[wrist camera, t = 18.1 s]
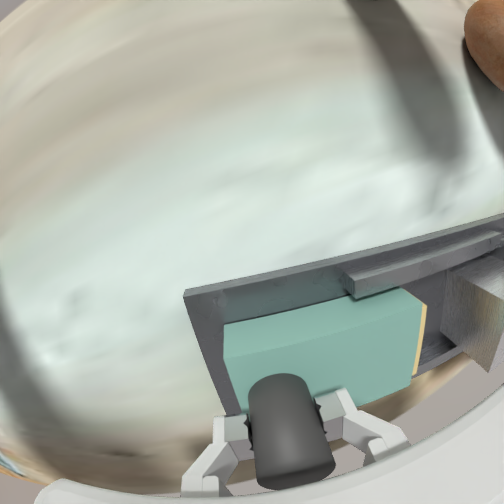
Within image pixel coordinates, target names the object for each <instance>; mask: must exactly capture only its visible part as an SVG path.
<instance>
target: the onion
mask: <svg viewBox="0 0 504 504" xmlns="http://www.w3.org/2000/svg"><path fill="white" fill-rule="evenodd" d="M464 31H465V40H466V44H467V47H468V50H469V52H470V55H471V57H472V59H474V60H475V62H476V63H477V64H478V66H479V68H480V69H481V70H482V72H483V73H484V74H485V75H486V76H487V77H488V78H489V79H490V80H491V81H492V83H493V84H494V85H495V86H497V87H498V88H499V90H501V91H503V92H504V0H479V1H477V2H475V3H474V4H473V5H472V6H471V7H470V8H469V10H468V12H467V14H466V17H465V23H464Z"/></svg>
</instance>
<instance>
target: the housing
mask: <svg viewBox="0 0 504 504" xmlns="http://www.w3.org/2000/svg"><path fill="white" fill-rule="evenodd" d="M440 331H441V332H442V333H443V334H444V335H445V336H447V337H448V338H449V339H450V340H451V341H452V342H454V343H455V344H456V345H457V346H458V347H459V348H461V349H462V350H463V351H464V352H465V353H466V354H467V355H469V356H470V357H471V358H472V359H473V360H474V361H475V362H476V363H478V364H479V365H480V366H481V367H482V368H483V369H484V370H485V371H486V372H487V373H489V372H491V371H492V370H493V369H494V368H496V367H497V366H498V365H499V364H501V363H502V362H503V361H504V261H503V260H500V259H498V258H496V257H493V256H491V255H488V254H484V255H482V256H480V257H477V258H475V259H472V260H470V261H467V262H465V263H462V264H460V265H457V266H455V267H452V268H450V269H447V276H446V288H445V298H444V306H443V313H442V320H441V326H440Z"/></svg>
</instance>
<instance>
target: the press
mask: <svg viewBox="0 0 504 504" xmlns="http://www.w3.org/2000/svg"><path fill="white" fill-rule="evenodd" d="M484 254H488V255H491V256H493V257H496V258H498V259H500V260H503V261H504V213H502V214H499V215H495V216H492V217H488V218H485V219H481V220H478V221H474V222H470V223H467V224H463V225H460V226H456V227H452V228H449V229H445V230H441V231H437V232H434V233H430V234H426V235H422V236H418V237H414V238H411V239H407V240H403V241H399V242H395V243H391V244H387V245H383V246H379V247H375V248H371V249H367V250H363V251H358V252H354V253H350V254H346V255H342V256H338V257H333V258H329V259H325V260H320V261H316V262H312V263H307V264H303V265H299V266H294V267H290V268H285V269H281V270H276V271H272V272H267V273H263V274H258V275H253V276H249V277H244V278H239V279H235V280H230V281H225V282H220V283H215V284H210V285H205V286H201V287H196V288H191V289H186V290H185V292H184V295H183V299H184V302H185V305H186V308H187V312H188V315H189V318H190V321H191V323H192V326H193V329H194V332H195V335H196V338H197V341H198V343H199V346H200V349H201V352H202V354H203V357H204V360H205V362H206V365H207V368H208V370H209V373H210V375H211V378H212V381H213V383H214V386H215V388H216V390H217V393H218V395H219V398H220V400H221V403H222V405H223V407H224V410H225V412H226V414H227V415H232V414H240V413H242V410H241V407H240V405H239V402H238V399H237V396H236V394H235V391H234V388H233V385H232V382H231V380H230V377H229V374H228V371H227V368H226V365H225V362H224V359H223V352H224V325H226V324H231V323H236V322H241V321H246V320H251V319H256V318H260V317H265V316H270V315H274V314H278V313H283V312H287V311H291V310H296V309H300V308H304V307H308V306H312V305H316V304H320V303H324V302H327V301H331V300H335V299H339V298H342V297H346V296H349V295H352V296H353V297H354V298H355V299H357V298H361V297H364V296H367V295H371V294H374V293H377V292H380V291H384V290H387V289H390V288H393V287H396V286H400V287H401V288H402V289H405V290H406V291H407V292H409V293H410V294H412V295H413V296H414V297H416V298H417V299H419V300H420V301H421V302H423V303H424V304H425V305H427V311H426V320H425V327H424V334H423V341H422V347H421V352H420V358H419V363H418V368H417V372H416V374H415V375H412V377H411V379H413V378H415V377H417V376H419V375H421V374H423V373H425V372H427V371H429V370H431V369H433V368H435V367H437V366H438V365H440V364H442V363H444V362H446V361H448V360H449V359H451V358H453V357H455V356H456V355H458V354H460V353H461V352H463V350H462V349H461V348H459V347H458V346H457V345H456V344H455V343H454V342H452V341H451V340H450V339H449V338H448V337H447V336H445V335H444V334H443V333H442V332H441V331H440V326H441V320H442V313H443V306H444V298H445V288H446V276H447V269H450V268H452V267H455V266H457V265H460V264H462V263H465V262H467V261H470V260H472V259H475V258H477V257H480V256H482V255H484Z"/></svg>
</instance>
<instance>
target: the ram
mask: <svg viewBox="0 0 504 504" xmlns="http://www.w3.org/2000/svg"><path fill="white" fill-rule="evenodd" d="M426 311H427V305H425V304H424V303H423V302H421V301H420V300H419V299H417V298H416V297H414V296H413V295H412V294H410V293H409V292H407V291H406V290H405V289H402V288H401V287H400V286H396V287H393V288H390V289H387V290H384V291H380V292H377V293H374V294H371V295H367V296H364V297H361V298H357V299H355V298H354V297H353V296H352V295H349V296H346V297H342V298H339V299H335V300H331V301H327V302H324V303H320V304H316V305H312V306H308V307H304V308H300V309H296V310H291V311H287V312H283V313H278V314H274V315H270V316H265V317H260V318H256V319H251V320H246V321H241V322H236V323H231V324H226V325H224V352H223V359H224V362H225V365H226V368H227V371H228V374H229V377H230V380H231V382H232V385H233V388H234V391H235V394H236V396H237V399H238V402H239V405H240V407H241V410H242V413H247V414H248V416H249V422H250V423H251V432H252V441H253V450H254V459H255V468H256V476H257V482H258V484H259V485H260V486H262V487H264V488H267V489H272V490H283V489H288V488H293V487H297V486H302V485H306V484H310V483H314V482H318V481H320V480H322V479H324V478H326V477H327V476H328V475H329V474H331V473H332V471H333V470H334V469H335V466H336V463H335V461H334V458H333V455H332V452H331V449H330V447H329V444H328V441H327V438H326V436H325V433H324V430H323V427H322V425H321V422H320V419H319V416H318V414H317V411H316V408H315V405H314V400H313V398H314V397H316V396H319V395H323V394H326V393H329V392H332V391H336V390H339V389H342V388H346V389H347V391H348V393H349V395H350V397H351V399H352V400H353V402H354V404H355V406H356V407H359V406H361V405H364V404H367V403H369V402H372V401H375V400H377V399H380V398H382V397H385V396H387V395H389V394H392V393H394V392H396V391H399V390H401V389H403V388H405V387H407V386H410V382H411V377H412V375H415V374H416V372H417V368H418V363H419V358H420V352H421V347H422V341H423V334H424V327H425V320H426Z"/></svg>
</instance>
